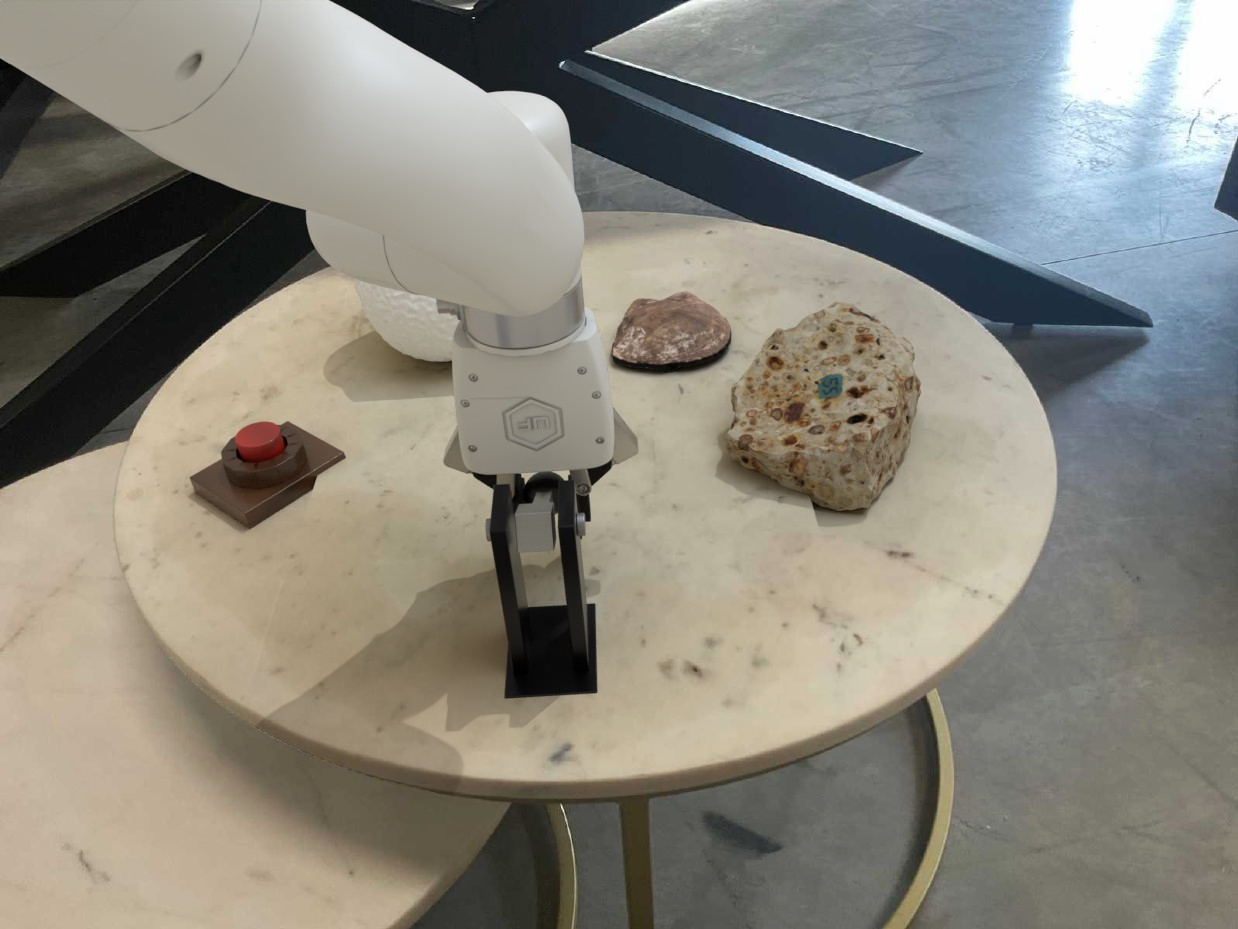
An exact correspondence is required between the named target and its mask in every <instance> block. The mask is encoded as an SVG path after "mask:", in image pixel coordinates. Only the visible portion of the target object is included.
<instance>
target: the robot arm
mask: <svg viewBox="0 0 1238 929" xmlns="http://www.w3.org/2000/svg"><path fill="white" fill-rule="evenodd" d="M0 59H1V60H3V61H4V62H6V63H8V64H9V65H11V66H13V67H15V68H16V69H18V70H19V71H21V72H23V73H25V74H26V75H28V76H30V77H31V78H33V79H34V80H36V81H38V82H39V83H41V84H43V85H44V86H46V87H47V88H49V89H51V90H53V91H54V92H56V93H57V94H59V95H61V96H62V97H63V98H65V99H67V100H69V101H70V102H72V103H74V104H75V105H77V106H79V107H81V108H82V109H84V110H85V111H87V112H88V113H90V114H91V115H93V116H95V117H97V118H98V119H100V120H101V121H103V122H105V123H106V124H108V125H109V126H111V127H113V128H114V129H115V130H117V131H119V132H121V133H122V134H123V135H125V136H127V137H129V138H130V139H131V140H133V141H135V142H137V143H138V144H140V145H141V146H143V147H145V148H146V149H148V150H149V151H151V152H153V153H154V154H155V155H157V156H159V157H160V158H162V159H164V160H166V161H168V162H169V163H172V164H174V165H175V166H178V167H180V168H183V169H184V170H186V171H189V172H191V173H194V174H197V175H200V176H202V177H205V179H208V180H211V181H214V182H217V183H220V184H222V185H224V186H226V187H228V188H231V189H234V190H237V191H240V192H242V193H244V194H248V195H251V196H254V197H258V198H261V199H265V200H268V201H271V202H275V203H279V204H283V205H286V206H290V207H293V208H297V209H301V210H304V211H305V219H306V220H305V222H306V226H307V232H308V235H309V238H310V240H311V243H312V245H313V246H314V249H315V250H316V251H317V253H318V254H319V255H320V257H321V258H322V259H323V260H324V261H325V262H326V263H327V264H328V265H329V266H331V268H334V269H335V271H338V272H339V273H341V274H343V275H345V276H346V277H348V278H351V279H353V280H354V279H356V280H360V281H363V282H365V283H369V284H373V285H377V286H381V287H385V288H389V289H394V290H398V291H402V292H406V293H411V294H415V295H421V296H427V297H431V298H435V299H436V304H437V310H438V313H439V314H450V315H451V316H453V315H457V318H458V320H460V321H459V323H458V325H457V327H456V330H455V332H454V336H453V347H452V361H451V372H452V387H453V398H454V409H455V417H456V426H455V428H454V431H453V433H452V435H451V437H450V438H449V440H448V442H447V445H446V447H445V449H444V454H443V461H442V462H443V465H444V466H446V467H447V468H449V469H452V470H455V471H458V472H461V473H464V474H466V475H469V474H470V475H472V476H473V478H475V479H476V480H477V481H478V482H480V483H482V484H483V485H485V486H487V487H489V488H490V489H492V490H493V489H494V485H497V484H510V489H511V496H512V503H513V509H514V516H515V512H516V510H517V507H518V505H519V504H526V503H525V500H524V487H525V484H526V478H525V477H522V476H523V475H522V474H531V473H532V474H535V473H538V472H550V471H551V472H562V471H563V472H565V471H569V474H567V480H574V481H575V488H576V498H577V509H578V513H584V514H585V523H591V522H592V513H591V512H592V511H591V499H590V494H591V492H592V487H593V486H595V484H596V483H598V482H599V481H600V480H601V479H602V478H603V477H604V476H606V475H607V474H608V473H609V472H610V471H611V469H612V468H613V466H616V465H620V464H621V463H623V462H625V461H627V460H629V459H631V458H633V457H635V456H636V455H638V453H639V440H638V437H637V435H636V433H634V432H633V430H632V429H631V428H630V426H629V425H628V424H627V423H626V421H625V420H624V419H623V417H622V416H621V415H620V414H619V412H618V411H617V410H616V409H615V407H614V406H613V397H612V388H611V381H610V373H609V367H608V362H607V356H606V352H605V351H606V350H605V347H604V343H603V338H602V335H601V332H600V329H599V328H600V327H599V325H598V322H597V320H596V316H595V314H594V313H593V311H592V309H590V308H589V307H588V306H585V299H584V298H585V297H584V288H583V287H584V286H583V275H582V260H583V256H584V247H585V224H584V223H585V222H584V217H583V212H582V208H581V204H580V201H579V197H578V196H577V192H576V189H575V178H574V177H575V175H574V164H573V152H572V140H571V133H570V127H569V122H568V119H567V117H566V114H565V113H564V110H563V109H562V108H561V107H560V106H559V104H557V103H556V102H555V101H553V100H551V99H550V98H548V97H547V96H543V95H541V94H538V93H534V92H528V91H527V92H526V91H519V90H504V91H492V92H487V91H485V90H484V89H482V88H480V87H479V86H478V85H476V84H475V83H473V82H471V81H470V80H468V79H467V78H465V77H463V76H462V75H460V74H459V73H457V72H456V71H453V70H452V69H450V68H449V67H447V66H445V65H443V64H441V63H440V62H438V61H436V60H435V59H433V58H431V57H429V56H427V55H425V54H424V53H422V52H420V51H418V49H417V50H416V49H414V48H413V47H411V46H409V45H408V44H406V43H404V42H403V41H401V40H399V39H398V38H396V37H394V36H393V35H391V34H389V33H388V32H386V31H384V30H383V29H381V28H379V27H378V26H376V25H375V24H373V23H372V22H370V21H368V20H366V19H365V18H363V17H361V16H359V15H358V14H356V13H354V12H352V11H350V10H349V9H346V8H345V7H343V6H341V5H339V4H337V3H335V2H334V1H331V0H0ZM580 540H583V536H580Z"/></svg>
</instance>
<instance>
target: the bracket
mask: <svg viewBox="0 0 1238 929" xmlns="http://www.w3.org/2000/svg"><path fill="white" fill-rule="evenodd" d="M586 523H587V522H585V514H584V513H578V509H577V498H576V488H575V481H574V480H568V479H564V480H563V481H559V488H558V513H557V533H558V534H557V535H558V542H559V550H560V559H561V560H560V561H561V568H562V569H561V570H562V577H563V578H562V579H563V586H564V594H565V602H566V604H558V605H542V606H528V599H527V591H526V586H525V584H526V583H525V578H524V572H523V565H522V559H521V553H518V552H517V540H516V528H515V516H514V509H513V503H512V496H511V489H510V484H497V485H494V489H492V499H491V510H490V518H485V524H484V526H485V527H484V528H485V530H484V532H485V538H486V541H487V542H490V544H491V550H492V556H493V562H494V568H495V574H496V580H497V585H498V592H499V597H500V598H499V599H500V603H501V610H502V615H503V622H504V627H505V633H506V639H507V653H506V668H505V683H504V699H507V700H508V699H522V698H523V699H524V698H525V699H526V698H539V697H541V698H542V697H555V696H556V697H557V696H558V697H559V696H575V695H590V694H591V695H592V694H597V693H598V658H597V655H598V654H597V613H596V612H597V609H596V607H597V606H596V603H595V602H593V603H592V602H590V603H587V593H586V581H585V573H584V572H585V571H584V561H583V551H582V542H581V541H582V539H580V536H582V537H586V535H587V527H586V526H587V525H586Z"/></svg>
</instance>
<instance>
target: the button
mask: <svg viewBox="0 0 1238 929" xmlns="http://www.w3.org/2000/svg"><path fill="white" fill-rule="evenodd" d="M278 425H279V424H276V423H275V422H272V421H257V422H253V423H250V424H247V425H245V426H244V427H242V428H241V429H239V431H237V433H236V435H235V436H234V437H235V441H236V444H237V447H238V450H239V453H240V456H241V458H242V460H243V461H245V462H249V463H259V462H263V461H267V460H271V459H273V458H275V457H276V456H278V455H280V454H281V453H283V451H284V449H285V444H284V441H283V438H282V434H281V431H280V428H279V426H278Z"/></svg>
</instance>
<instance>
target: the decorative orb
mask: <svg viewBox="0 0 1238 929" xmlns="http://www.w3.org/2000/svg"><path fill="white" fill-rule="evenodd" d="M310 254H311V252H310ZM353 281H354V283H353V287H354V289H355V292H356V294H357V296H358V298H359V301H360V304H361V307H362V309H363V312H364V314H365V315H366V317H367V320H368V322H370V324H371V325H372V327H373V328H374V330H375V331H376V332H377V334H378V335H380V336H381V338H382V340H383V341H385V342H387V344H388V345H389V346H390V347H391V348H393V349H395V350H396V351H398V352H400V353H401V354H402V355H407V356H409V357H412V358H414V359H416V360H419V359H420V360H423V361H425V362H438V363H442V362H452V347H453V336H454V332H455V330H456V327H457V325H458V323H459V321H460V320H458V318H457V315H453V316H451V315H450V314H439V313H438V310H437V304H436V299H435V298H431V297H427V296H421V295H415V294H411V293H406V292H402V291H398V290H394V289H389V288H385V287H381V286H377V285H373V284H369V283H365V282H363V281H360V280H356V279H353Z"/></svg>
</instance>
